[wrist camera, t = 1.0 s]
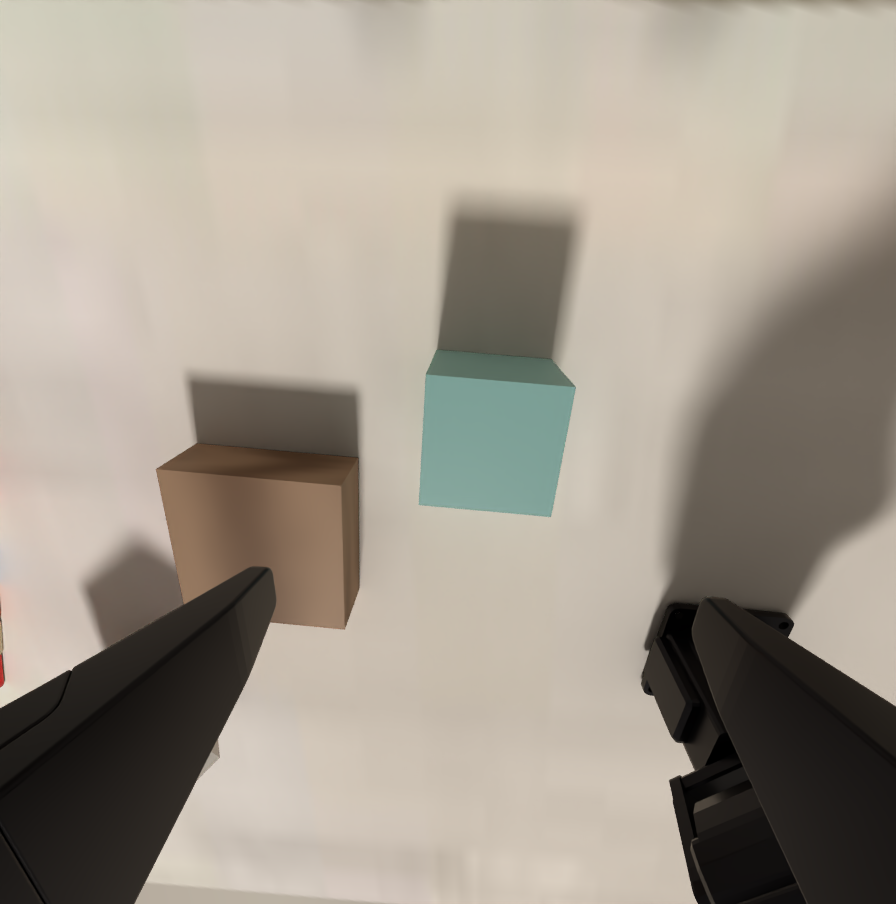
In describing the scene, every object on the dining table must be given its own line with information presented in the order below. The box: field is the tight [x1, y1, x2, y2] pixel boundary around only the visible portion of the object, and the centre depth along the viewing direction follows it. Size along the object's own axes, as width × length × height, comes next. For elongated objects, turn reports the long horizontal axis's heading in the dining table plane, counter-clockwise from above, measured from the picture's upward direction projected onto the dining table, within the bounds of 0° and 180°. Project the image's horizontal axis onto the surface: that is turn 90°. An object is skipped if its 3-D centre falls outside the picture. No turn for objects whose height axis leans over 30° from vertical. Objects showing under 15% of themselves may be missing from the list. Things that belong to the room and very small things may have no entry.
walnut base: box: [156, 443, 359, 630], centre depth 22 cm, size 8×8×3 cm
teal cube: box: [419, 350, 576, 517], centre depth 18 cm, size 5×5×5 cm
